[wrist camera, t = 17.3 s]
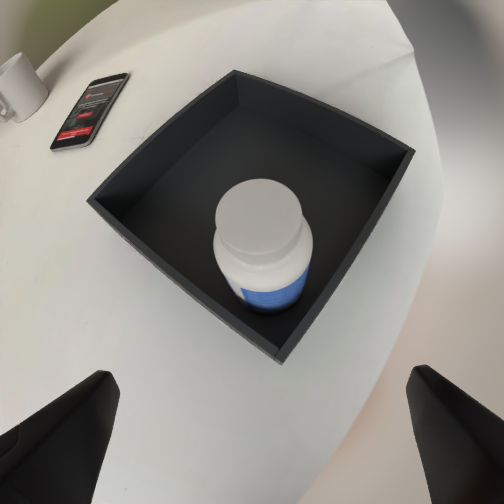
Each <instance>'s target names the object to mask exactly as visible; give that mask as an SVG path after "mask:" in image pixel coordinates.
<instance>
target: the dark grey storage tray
mask: <svg viewBox="0 0 504 504" xmlns="http://www.w3.org/2000/svg"><path fill="white" fill-rule="evenodd" d="M415 152H416V150H414V149H413V148H411V147H410V148H409V146H408V145H406V144H404V143H402V142H401V141H399V140H397V139H396V138H394V137H392V136H390V135H388V134H387V133H385V132H383V131H381V130H379V129H377V128H375V127H374V126H372V125H370V124H368V123H366V122H364V121H362V120H360V119H358V118H356V117H354V116H352V115H350V114H348V113H346V112H344V111H341V110H339V109H337V108H335V107H333V106H330V105H328V104H326V103H324V102H321V101H319V100H317V99H314V98H312V97H310V96H307V95H305V94H302V93H300V92H297V91H295V90H292V89H290V88H287V87H284V86H282V85H279V84H276V83H273V82H271V81H268V80H265V79H262V78H259V77H256V76H253V75H250V74H247V73H244V72H240V71H237V70H233V71H231V72H230V73H228V74H227V75H226V76H224V77H223V78H221V79H220V80H219V81H217V82H216V83H215V84H213V85H212V86H211V87H209V88H208V89H207V90H205V91H204V92H203V93H201V94H200V95H199V96H197V97H196V98H195V99H194V100H192V101H191V102H190V103H188V104H187V105H186V106H185V107H184V108H182V109H181V110H180V111H179V112H177V113H176V114H175V115H174V116H173V117H171V118H170V119H169V120H168V121H167V122H166V123H164V124H163V125H162V126H161V127H160V128H159V129H158V130H156V131H155V132H154V133H153V134H152V135H151V136H150V137H149V138H148V139H146V140H145V141H144V142H143V143H142V144H141V145H140V146H139V147H138V148H137V149H136V150H135V151H134V152H133V153H131V154H130V155H129V156H128V157H127V158H126V159H125V160H124V161H123V162H122V163H121V164H120V165H119V166H118V167H117V168H116V169H115V170H114V171H113V172H112V173H111V174H110V175H109V176H108V177H107V179H106V180H105V181H104V182H103V183H102V184H101V185H100V186H99V187H98V188H97V189H96V190H95V191H94V192H93V194H92V195H91V196H90V197H89V198H88V199H87V200H86V202H87V203H88V204H89V205H90V206H91V207H92V208H93V209H94V210H95V211H96V212H97V213H98V214H99V215H100V216H101V217H102V218H103V219H104V220H105V221H106V222H107V223H108V224H109V225H110V226H111V227H112V228H113V229H114V230H115V231H116V232H117V233H118V234H119V235H120V236H121V237H123V238H124V239H125V240H126V241H127V242H128V243H129V244H130V245H131V246H132V247H134V248H135V249H136V250H137V251H138V252H139V253H140V254H141V255H143V256H144V257H145V258H146V259H147V260H148V261H149V262H151V263H152V264H153V265H154V266H155V267H156V268H158V269H159V270H160V271H161V272H162V273H163V274H165V275H166V276H167V277H168V278H169V279H170V280H172V281H173V282H174V283H175V284H176V285H178V286H179V287H180V288H181V289H182V290H184V291H185V292H186V293H187V294H188V295H190V296H191V297H192V298H193V299H195V300H196V301H197V302H198V303H200V304H201V305H202V306H203V307H205V308H206V309H207V310H208V311H210V312H211V313H212V314H213V315H215V316H216V317H217V318H218V319H220V320H221V321H222V322H224V323H225V324H226V325H227V326H229V327H230V328H231V329H233V330H234V331H235V332H237V333H238V334H239V335H241V336H242V337H243V338H245V339H246V340H247V341H249V342H250V343H251V344H253V345H254V346H255V347H257V348H258V349H259V350H261V351H262V352H263V353H265V354H266V355H268V356H269V357H270V358H272V359H273V360H274V361H276V362H277V363H279V364H280V365H282V364H283V363H284V361H285V360H286V359H287V357H288V356H289V355H290V353H291V352H292V351H293V349H294V348H295V347H296V345H297V344H298V343H299V341H300V340H301V338H302V337H303V336H304V334H305V333H306V332H307V330H308V329H309V327H310V326H311V325H312V323H313V322H314V320H315V319H316V317H317V316H318V315H319V313H320V312H321V310H322V309H323V307H324V306H325V304H326V303H327V302H328V300H329V299H330V297H331V296H332V294H333V293H334V291H335V290H336V288H337V287H338V285H339V284H340V282H341V281H342V279H343V277H344V276H345V274H346V273H347V271H348V270H349V268H350V267H351V265H352V263H353V262H354V260H355V259H356V257H357V255H358V254H359V252H360V251H361V249H362V247H363V246H364V244H365V242H366V241H367V239H368V237H369V236H370V234H371V232H372V231H373V229H374V227H375V226H376V224H377V222H378V221H379V219H380V217H381V215H382V214H383V212H384V210H385V208H386V207H387V205H388V203H389V201H390V199H391V198H392V196H393V194H394V192H395V190H396V189H397V187H398V185H399V183H400V181H401V179H402V177H403V175H404V173H405V171H406V170H407V168H408V166H409V164H410V162H411V160H412V158H413V156H414V154H415ZM252 179H269V180H273V181H276V182H279V183H281V184H283V185H285V186H286V187H288V188H289V189H290V190H291V191H292V192H293V193H294V194H295V195H296V197H297V198H298V200H299V203H300V205H301V209H302V215H303V216H304V218H305V219H306V221H307V223H308V225H309V227H310V229H311V233H312V238H313V248H312V255H311V260H310V264H309V269H308V273H307V278H306V282H305V287H304V290H303V292H302V295H301V296H300V298H299V299H298V301H297V302H296V303H295V304H294V305H293V306H292V307H291V308H289V309H288V310H286V311H284V312H281V313H278V314H274V315H262V314H257V313H254V312H252V311H250V310H248V309H247V308H245V307H244V306H243V305H242V304H241V303H240V302H239V301H238V299H237V298H236V296H235V294H234V293H233V291H232V289H231V287H230V285H229V284H228V282H227V280H226V278H225V276H224V275H223V273H222V271H221V269H220V267H219V265H218V263H217V260H216V258H215V254H214V247H213V242H214V235H215V231H216V229H217V227H216V221H215V216H216V210H217V206H218V204H219V202H220V200H221V199H222V197H223V196H224V195H225V193H226V192H227V191H229V190H230V189H231V188H232V187H234V186H236V185H237V184H239V183H242V182H244V181H248V180H252Z"/></svg>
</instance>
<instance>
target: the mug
mask: <svg viewBox="0 0 504 504" xmlns="http://www.w3.org/2000/svg"><path fill="white" fill-rule="evenodd" d="M47 97H48V91H47V89H46V87H45V86H44V85H43V83H42V82H41V80H40V79H39V77H38V75H37V74H36V72H35V71H34V69H33V67H32V66H31V64H30V63H29V61H28V59H27V57H26V56H25V54H24V53H23V52H20V53H18V54H16V55H15V56H13V57H12V58H10V59H9V60H8V61H7V62H5V63H4V64H3V65H2V66H1V67H0V103H1V104H2V106H3V107H4V108H5V109H6V111H7V112H6V114H5V115H2V114H0V122H2V123H6V122H8V121H9V120H10V119H11V118H12V119H13V120H14V121H15V122H17V123H19V122H22V121H24V120H26V119H27V118H29V117H30V116H31V115H32V114H34V113H35V112H36V111H37V110H38V109H39V108H40V107H41V106H42V104H43V103H44V102H45V100H46V99H47Z"/></svg>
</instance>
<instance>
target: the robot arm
mask: <svg viewBox="0 0 504 504" xmlns="http://www.w3.org/2000/svg"><path fill="white" fill-rule="evenodd" d="M406 394H407V398H408V404H409V409H410V414H411V419H412V425H413V430H414V435H415V439H416V442H417V446H418V450H419V453H420V457H421V461H422V464H423V468H424V472H425V476H426V480H427V484H428V489H429V493H430V497H431V502H432V504H504V421H503V420H502V419H501V418H500V417H498V416H497V415H495V414H494V413H493V412H491V411H490V410H489V409H487V408H486V407H485V406H483V405H482V404H480V403H479V402H478V401H476V400H475V399H474V398H472V397H471V396H470V395H468V394H467V393H465V392H464V391H463V390H461V389H460V388H459V387H457V386H456V385H454V384H453V383H451V382H450V381H449V380H447V379H446V378H445V377H443V376H442V375H441V374H439V373H438V372H436V371H435V370H434V369H432V368H431V367H429V366H428V365H419V366H415V367H414V368H413V369H412V371H411V374H410V377H409V380H408V382H407V385H406ZM119 398H120V390H119V387H118V385H117V383H116V381H115V379H114V377H113V375H112V373H111V372H109V371H103V370H98V371H96V372H95V373H93V374H92V375H91V376H89V377H88V378H86V379H85V380H83V381H82V382H80V383H79V384H77V385H76V386H74V387H73V388H71V389H70V390H69V391H67V392H66V393H64V394H63V395H61V396H60V397H58V398H57V399H55V400H54V401H52V402H51V403H49V404H48V405H46V406H45V407H43V408H42V409H40V410H39V411H37V412H36V413H35V414H33V415H32V416H30V417H29V418H27V419H26V420H24V421H23V422H21V423H20V425H19V424H18V425H17V426H15V427H14V428H12V429H11V430H9V431H7V432H6V433H4V434H3V435H1V436H0V504H91V502H92V498H93V494H94V491H95V487H96V483H97V480H98V477H99V473H100V470H101V466H102V463H103V460H104V457H105V453H106V450H107V447H108V444H109V441H110V438H111V434H112V430H113V425H114V420H115V416H116V411H117V406H118V402H119Z"/></svg>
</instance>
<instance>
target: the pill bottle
mask: <svg viewBox="0 0 504 504" xmlns="http://www.w3.org/2000/svg"><path fill="white" fill-rule="evenodd" d="M215 221H216V227H217V229H216V231H215V235H214V242H213V247H214V254H215V258H216V260H217V263H218V265H219V267H220V269H221V271H222V273H223V275H224V276H225V278H226V280H227V282H228V284H229V285H230V287H231V289H232V291H233V293H234V294H235V296H236V298H237V299H238V301H239V302H240V303H241V304H242V305H243V306H244V307H245V308H247V309H248V310H250V311H252V312H254V313H257V314H262V315H274V314H278V313H281V312H284V311H286V310H288V309H289V308H291V307H292V306H293V305H294V304H295V303H296V302H297V301H298V299H299V298H300V296H301V295H302V292H303V290H304V287H305V282H306V278H307V273H308V269H309V264H310V260H311V255H312V248H313V238H312V233H311V229H310V227H309V225H308V223H307V221H306V219H305V218H304V216H303V215H302V209H301V205H300V203H299V200H298V198H297V197H296V195H295V194H294V193H293V192H292V191H291V190H290V189H289V188H288V187H286V186H285V185H283V184H281V183H279V182H276V181H273V180H269V179H252V180H248V181H244V182H242V183H239V184H237V185H236V186H234V187H232V188H231V189H230V190H229V191H227V192H226V193H225V195H224V196H223V197H222V199H221V200H220V202H219V204H218V206H217V210H216V216H215Z"/></svg>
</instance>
